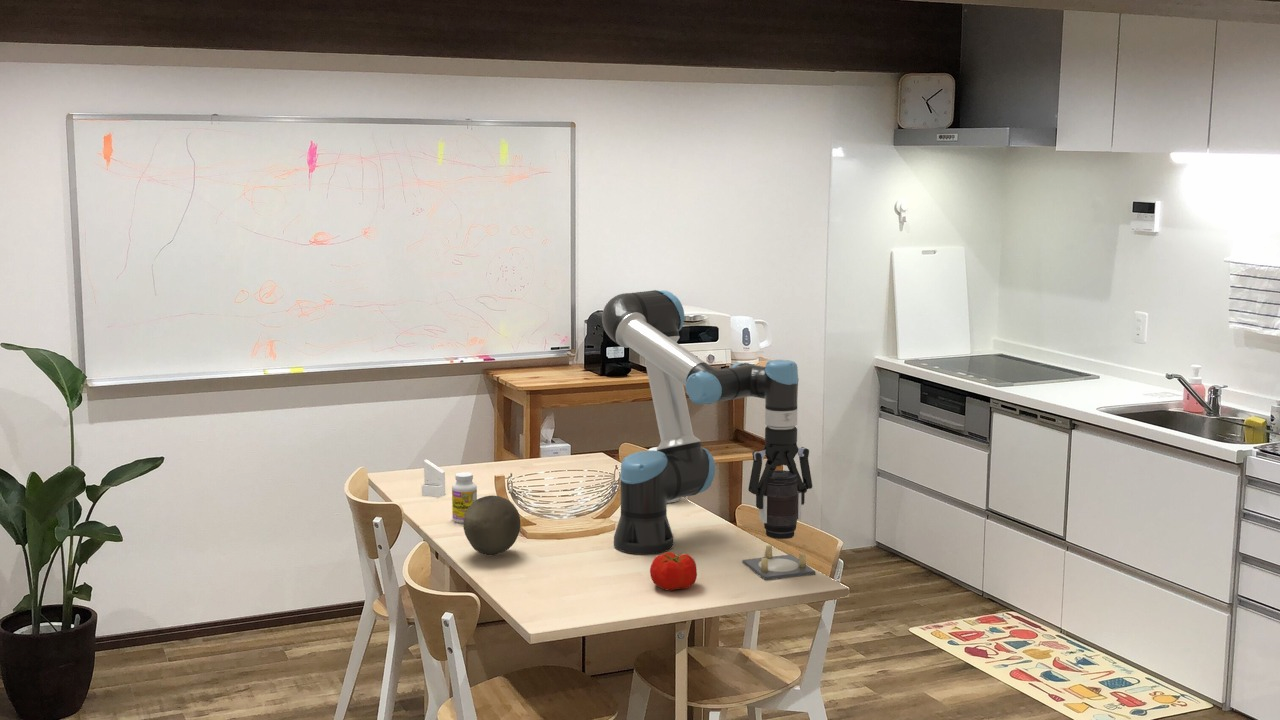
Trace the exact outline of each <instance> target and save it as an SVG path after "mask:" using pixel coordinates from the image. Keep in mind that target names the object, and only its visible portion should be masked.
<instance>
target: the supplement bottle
mask: <svg viewBox="0 0 1280 720" xmlns="http://www.w3.org/2000/svg"><path fill="white" fill-rule="evenodd" d="M454 477H455V480H456V481H455V482H454V483H453V484H452V487H451V497H452V498H451V501H452V502H451V504H452V505H451V508H452V514H451V515H452V521H454V522H455V523H458V524H459V523H460V524H463V522H464V517H465V514H466V512H467V510H468V508H469V507H470V505H471V504H472V503H473V502H474V501H476V500H477V499H478V486H477V484H476V482H474V481H473V479H474V475H473V473H472V472H470V471H463V472H456V474H455V475H454Z"/></svg>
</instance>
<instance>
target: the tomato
mask: <svg viewBox="0 0 1280 720" xmlns="http://www.w3.org/2000/svg"><path fill="white" fill-rule="evenodd" d="M649 574H650V578H651V581H652V583H653V584H654V585H655V586H657V587H659V588H661V589H663V590H666V591H675V590H678V589H679V590H685V589H686V590H687V589H689V588H690V587H692V586H693V585H694V584H695V583H696V580H697V576H698V572H697V563H696V562H695V559H694V558H693V557H692V556H691V555H689V554H688V553H683V554H681V555H677V554H676V553H675V552H672V551H664V552H661V554H659V555H657V556H656V557H654V559H653V561H652V563H651V565H650V567H649Z"/></svg>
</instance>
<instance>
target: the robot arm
mask: <svg viewBox="0 0 1280 720" xmlns="http://www.w3.org/2000/svg"><path fill="white" fill-rule="evenodd" d="M685 317H686V315H685V310H684V307H683V304H682V301H680V299H679V298H678V297H677V296H676V295H674V294H673V292H671V291H668V290H659V289H654V290H653V289H652V290H647V291H646V290H645V291H637V292H625V293H624V292H623V293H620V294H617V295H615V296H613V297H612V298H610V299H609V301H608V302H607V303H606V304H605V306H604V308H603V311H602V315H601V323H602V327H603V330H604V331H605V333H606V335H607V336H608V337H609V339H610V340H611V341H613V342H614V343H615V344H617V345H618V346H620V347H622V348H626V349H627V348H630V349H631V350H633V351H634V352H636V353H637V354H638V355H640V356H641V357H643V358H644V362H645V368H646V373H647V377H648V378H647V379H648V383H649V389H650V392H651V398H652V402H653V408H654V412H655V417H656V423H657V429H658V433H659V437H660V443H659V444H658V446H657V447H658V448H657V451H648V450H646V451H644V450H641V451H636V452H633V453H630V454H628V455H627V456H625V457H624V458H623V459H622V460H621V463H620V473H619V481H620V517H619V520H618V523H617V526H616V529H615V532H614V535H613V547H614V548H615V549H616V550H618V551H620V552H624V553H629V554H634V555H635V554H636V555H652V554H653V555H654V554H659V553H665V552H668V551H669V550H671V549H672V548H673V547H674V534H673V532H672V528H671V526H670V522H669V519H668V515H667V511H668V510H667V509H668V508H667V507H668V506H667V504H668V503H667V501H669V500H673V499H677V498H680V499H681V498H686V497H689V496H690V497H691V496H696V495H698V494H700V493H703V492H705V491H707V490H708V489H709V488H710V487H711V485H712V483H713V482H714V479H715V476H716V463H715V459H714V456H713V454H712V453H710V450H708V448H705V447H702V442H701V439H699V438H698V437H697V436H695V435H694V431H693V427H692V422H691V417H690V412H689V411H690V410H689V405H688V402H687V397H686V396H688V397H689V400H690V401H691V402H692V403H693V404H696V405H712V404H715V403H719V402H724V401H729V400H737V399H744V398H748V397H752V398H759V399H764V401H765V405H764V407H765V411H764V413H765V414H764V417H765V418H764V424H765V425H766V427H765V429H764V443H765V444H764V445H765V446H764V448H763V450H759V451H756V450H753V452H752V460H753V462H752V466H751V467H752V468H751V472H750V479H749V484H748V492H749V493H751V494H752V495H755V507H756V508H757V509H758V510H759V511H758V512H759V514H758V515H759V516H758V517H759V518H758V519H759V522H761V523H763V524H764V523H767V496H766V495H764V493H765V491H766V488H767V485H768V484H767V483H768V477H771V476H772V474H773V472H774V471H776V469H777V467H781V466H786V467H787V468H788V471H790V472H791V473H792V474H796V476H797V480H798V481H797V483H798V485H797V488H798V492H797V521H798V520H800V521H801V520H802V506H803V505H804V504H805V498H806V497H805V496H806V495H805V494H806V493H807V492H808V490H810V489H811V490H812V488H813V482H812V474H811V470H810V469H811V468H810V462H809V455H810V449H808V448H806V446H801V447H799V446H798V444H797V442H798V428H797V427H796V426H797V425H798V397H799V396H798V393H799V392H798V390H799V369H798V364H797V363H796V362H795V361H793V360H789V359H772V360H771V359H770V360H767V362H766V363H765V366H763V365H762V366H761V365H758V364H757V365H755V364H752V363H749V362H748V363H747V362H744V363H743V362H736V363H732V364H731V366H729V367H726V368H725V367H724V368H718V369H717V368H715V367H714V366H712V365H710V364H708V363H707V362H706V361H704V360H703V359H701V358H699V357H698V356H696V355H695V354H694V353H693V352H690V351H689V350H688V349H687V348H685V347H683V346H682V345H680V344H679V343H678V341H679V339H680V338H681V337H680V333H679V332H680V330H682V329H683V326H684V322H685ZM797 455H798V458H799V466H800V473H801V475H800V473H799V471H798V470H799V469H798V468H797V463H796V461H795V457H796V456H797ZM765 458H766V459H767V460H766V462H765V466H764V469H763V472H762V466H763V460H764V459H765ZM761 472H762V474H761Z"/></svg>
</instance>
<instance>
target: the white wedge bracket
mask: <svg viewBox="0 0 1280 720" xmlns="http://www.w3.org/2000/svg"><path fill="white" fill-rule="evenodd" d="M423 474H424V475H423V476H424V477H423V478H424V480H423V481H424V482H423V484H421V496H422V497H432V498H433V497H434V498H441V497H443V496H445V495H446V471H445V470H443V469H441V468H440V467H439V466H437V465H436V464H434V463H433V462H431V461H430V460H428V459H424V460H423Z"/></svg>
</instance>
